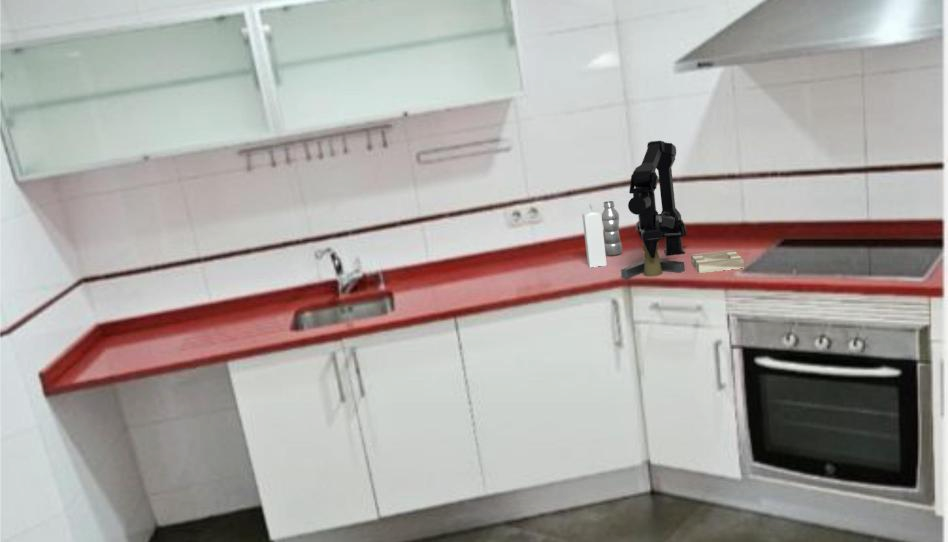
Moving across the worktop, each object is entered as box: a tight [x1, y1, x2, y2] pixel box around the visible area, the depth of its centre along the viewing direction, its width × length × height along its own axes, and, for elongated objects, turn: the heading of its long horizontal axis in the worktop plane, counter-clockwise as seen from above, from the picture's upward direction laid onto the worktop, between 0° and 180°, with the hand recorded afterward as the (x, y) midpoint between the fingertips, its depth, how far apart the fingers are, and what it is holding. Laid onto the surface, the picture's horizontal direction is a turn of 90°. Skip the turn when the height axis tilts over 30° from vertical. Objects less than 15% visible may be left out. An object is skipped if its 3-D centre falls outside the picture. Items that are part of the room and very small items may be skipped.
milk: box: [581, 203, 608, 269], centre depth 288 cm, size 6×6×22 cm
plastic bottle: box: [601, 200, 623, 256], centre depth 300 cm, size 6×7×20 cm
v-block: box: [620, 259, 686, 280], centre depth 271 cm, size 12×20×3 cm, turn 85°
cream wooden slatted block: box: [690, 249, 745, 274], centre depth 266 cm, size 14×14×3 cm
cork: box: [641, 242, 663, 277], centre depth 267 cm, size 6×6×11 cm
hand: (651, 254), depth 266 cm, fingers open, 9 cm apart
